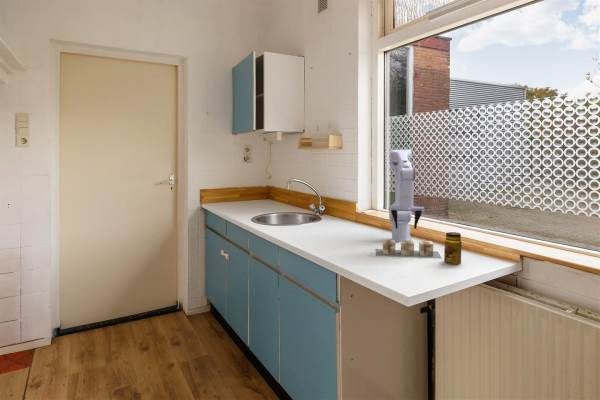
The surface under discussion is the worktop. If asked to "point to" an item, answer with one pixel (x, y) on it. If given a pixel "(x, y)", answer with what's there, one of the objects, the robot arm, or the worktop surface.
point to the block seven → (425, 248)
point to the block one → (389, 247)
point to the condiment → (452, 248)
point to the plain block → (407, 247)
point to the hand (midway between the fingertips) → (405, 228)
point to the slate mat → (416, 255)
